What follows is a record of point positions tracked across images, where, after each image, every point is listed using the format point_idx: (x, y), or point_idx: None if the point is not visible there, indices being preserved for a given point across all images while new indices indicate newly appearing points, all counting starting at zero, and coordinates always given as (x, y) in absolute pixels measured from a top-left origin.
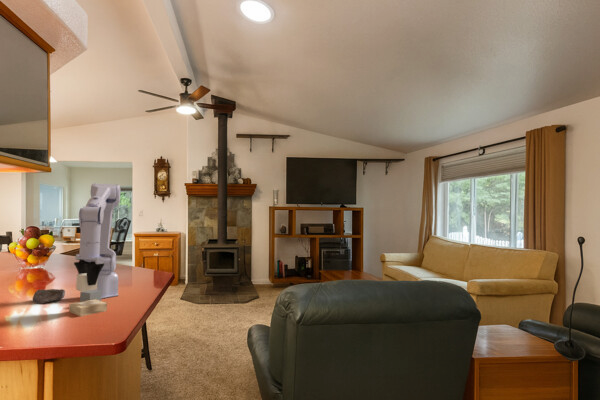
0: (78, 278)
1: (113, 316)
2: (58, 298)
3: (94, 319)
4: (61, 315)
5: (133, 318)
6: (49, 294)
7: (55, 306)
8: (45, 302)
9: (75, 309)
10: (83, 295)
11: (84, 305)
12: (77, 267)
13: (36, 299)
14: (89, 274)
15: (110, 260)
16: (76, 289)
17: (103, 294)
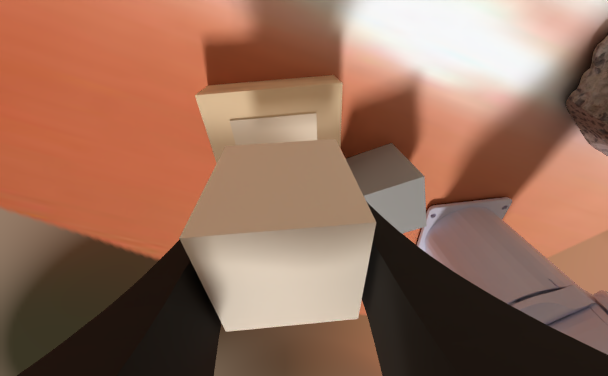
0: (313, 196)
1: (133, 180)
2: (575, 109)
3: (114, 113)
4: (290, 16)
5: (68, 215)
6: None
7: (491, 61)
8: (602, 41)
9: (263, 85)
10: (392, 175)
11: (237, 126)
12: (461, 320)
13: None
14: (127, 298)
15: None
16: (329, 139)
17: (430, 241)
